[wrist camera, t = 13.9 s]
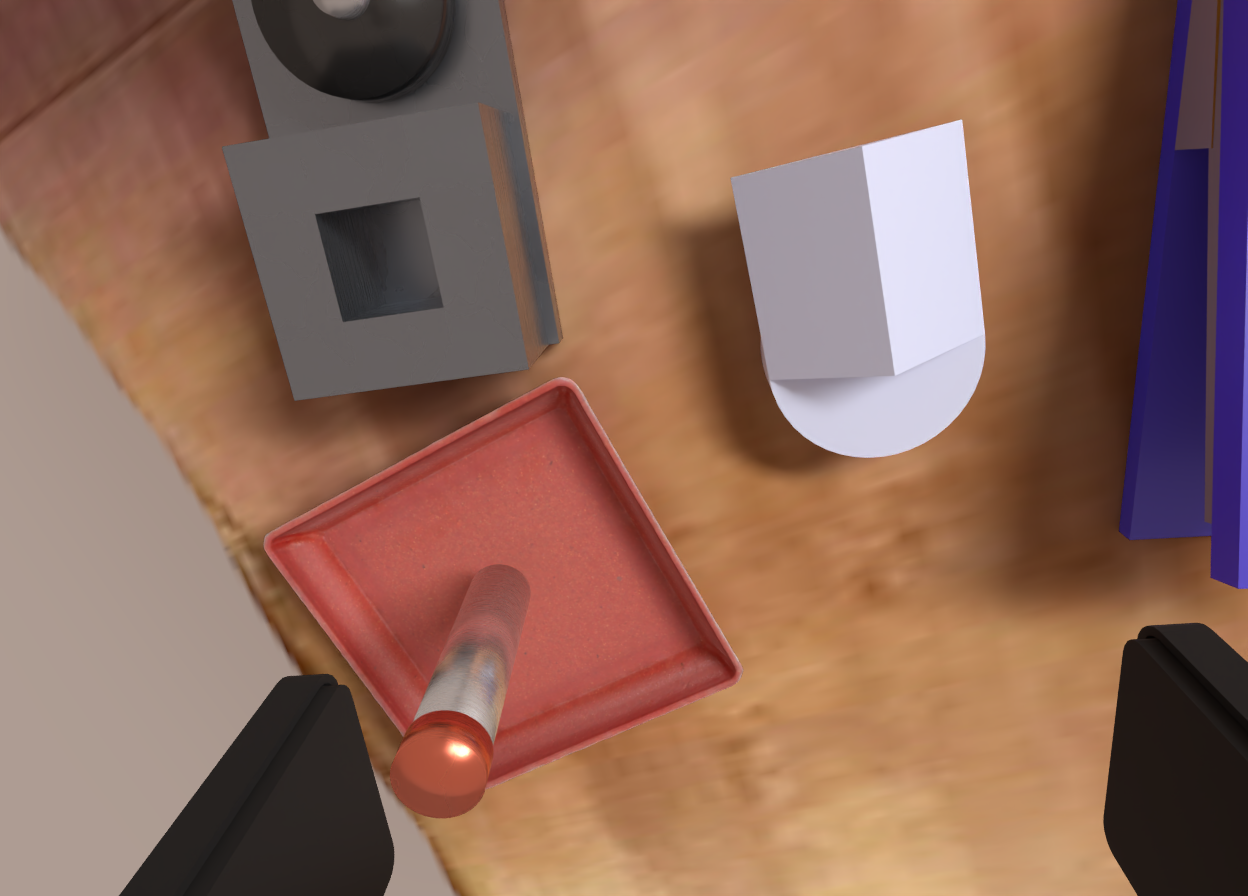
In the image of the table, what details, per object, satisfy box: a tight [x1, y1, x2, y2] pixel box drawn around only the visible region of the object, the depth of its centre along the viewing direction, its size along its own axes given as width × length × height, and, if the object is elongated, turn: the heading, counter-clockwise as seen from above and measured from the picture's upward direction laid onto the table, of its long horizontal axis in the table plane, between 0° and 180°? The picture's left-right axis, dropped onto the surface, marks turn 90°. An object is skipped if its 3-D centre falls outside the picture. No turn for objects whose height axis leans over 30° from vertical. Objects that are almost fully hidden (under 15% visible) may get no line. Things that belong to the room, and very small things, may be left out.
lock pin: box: [390, 564, 531, 818], centre depth 33 cm, size 3×3×13 cm
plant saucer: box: [264, 377, 743, 790], centre depth 41 cm, size 18×18×3 cm
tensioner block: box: [222, 0, 563, 401], centre depth 33 cm, size 19×11×6 cm, turn 9°
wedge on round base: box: [731, 120, 985, 458], centre depth 34 cm, size 9×7×13 cm
